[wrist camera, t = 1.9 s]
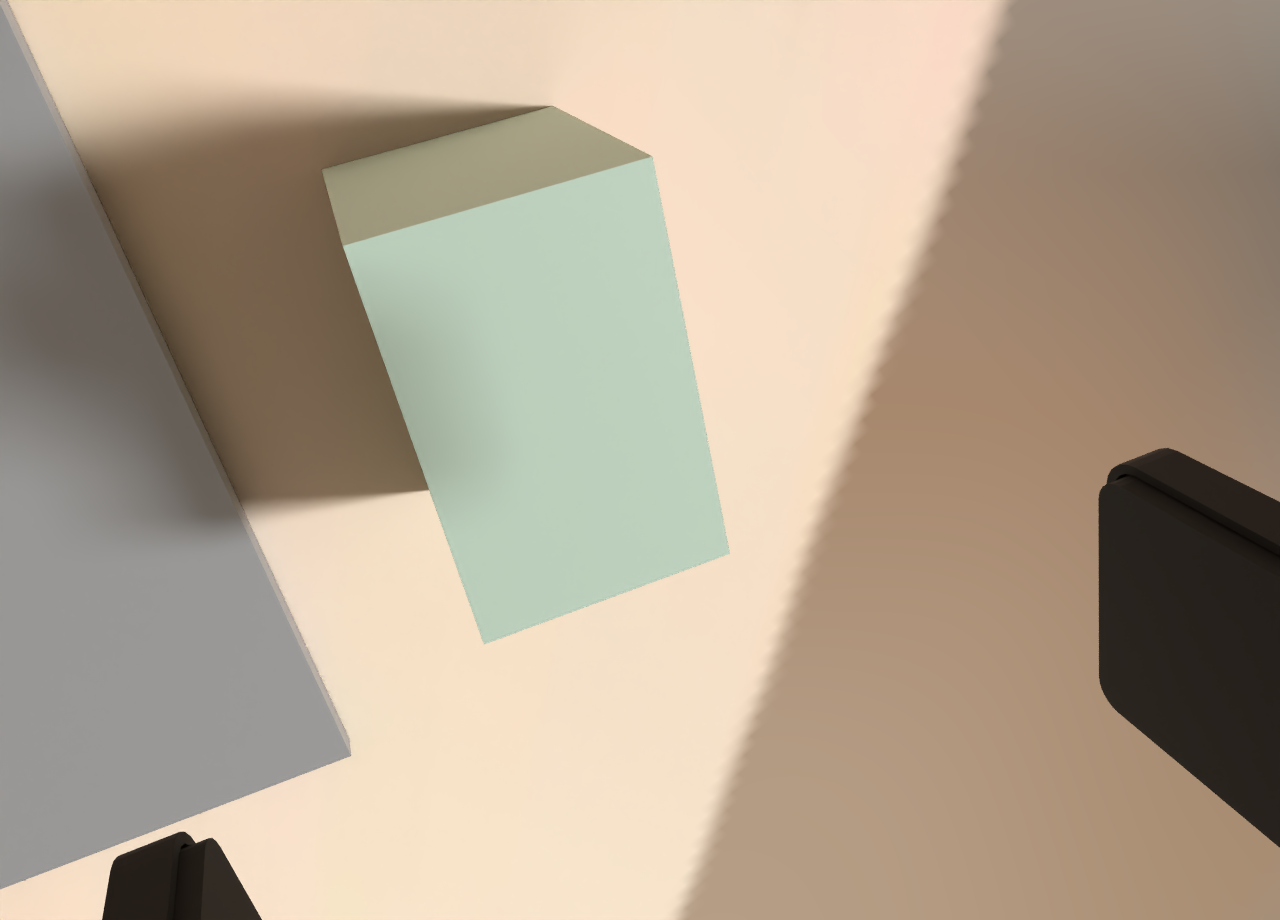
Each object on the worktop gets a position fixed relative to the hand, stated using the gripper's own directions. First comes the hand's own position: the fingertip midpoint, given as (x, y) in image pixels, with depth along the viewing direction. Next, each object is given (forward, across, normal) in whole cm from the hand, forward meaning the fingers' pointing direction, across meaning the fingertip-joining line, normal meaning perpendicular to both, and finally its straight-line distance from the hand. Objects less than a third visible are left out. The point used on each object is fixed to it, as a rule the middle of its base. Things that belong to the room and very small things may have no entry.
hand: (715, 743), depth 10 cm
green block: (+13, 0, -1) cm, 13 cm away
